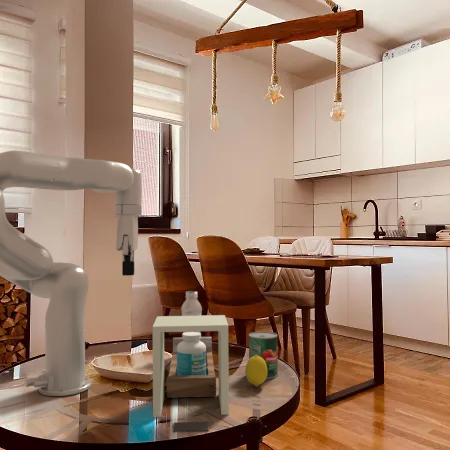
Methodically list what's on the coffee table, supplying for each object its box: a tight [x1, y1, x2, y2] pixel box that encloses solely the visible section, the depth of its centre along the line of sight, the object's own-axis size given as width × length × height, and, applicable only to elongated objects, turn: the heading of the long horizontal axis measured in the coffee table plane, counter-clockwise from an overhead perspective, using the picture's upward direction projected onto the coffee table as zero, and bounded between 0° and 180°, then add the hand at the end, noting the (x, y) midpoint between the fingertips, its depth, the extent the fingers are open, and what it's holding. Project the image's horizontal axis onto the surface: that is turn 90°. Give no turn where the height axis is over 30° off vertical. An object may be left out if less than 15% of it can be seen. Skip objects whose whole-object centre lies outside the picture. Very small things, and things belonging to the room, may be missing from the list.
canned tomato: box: [248, 331, 279, 380], centre depth 128 cm, size 8×8×11 cm
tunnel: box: [152, 314, 230, 418], centre depth 106 cm, size 12×16×19 cm
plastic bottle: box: [180, 290, 203, 335], centre depth 150 cm, size 6×7×20 cm
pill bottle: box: [177, 332, 207, 376], centre depth 119 cm, size 8×7×14 cm
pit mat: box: [172, 420, 209, 433], centre depth 94 cm, size 4×7×1 cm, turn 94°
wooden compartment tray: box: [166, 336, 217, 399], centre depth 126 cm, size 32×12×7 cm, turn 4°
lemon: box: [245, 355, 267, 388], centre depth 119 cm, size 6×6×8 cm
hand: (128, 275), depth 135 cm, fingers closed
